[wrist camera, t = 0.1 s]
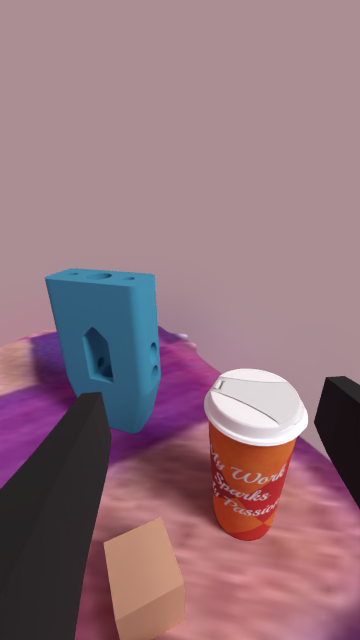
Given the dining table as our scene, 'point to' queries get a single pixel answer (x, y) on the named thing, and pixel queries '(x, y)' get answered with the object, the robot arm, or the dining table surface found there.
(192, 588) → the dining table surface
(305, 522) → the dining table surface
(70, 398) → the dining table surface
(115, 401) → the block
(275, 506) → the paper cup
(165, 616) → the terracotta cube
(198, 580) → the dining table surface
